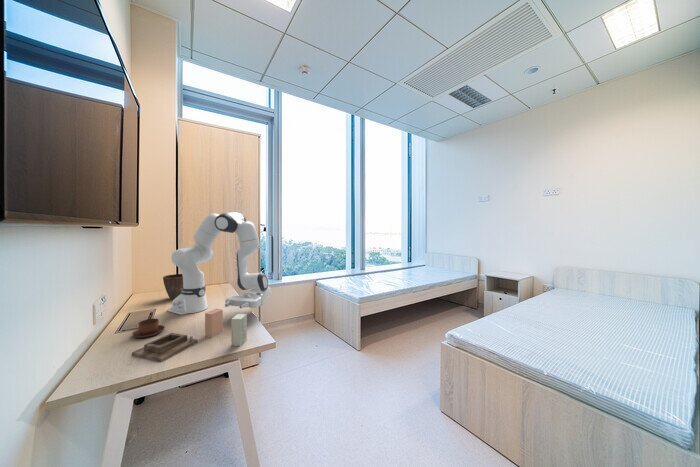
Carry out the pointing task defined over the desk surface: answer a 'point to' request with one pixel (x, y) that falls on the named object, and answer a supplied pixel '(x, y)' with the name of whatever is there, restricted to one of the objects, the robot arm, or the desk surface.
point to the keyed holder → (165, 347)
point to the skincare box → (238, 329)
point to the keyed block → (213, 322)
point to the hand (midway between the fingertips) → (233, 306)
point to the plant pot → (173, 285)
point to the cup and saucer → (148, 328)
